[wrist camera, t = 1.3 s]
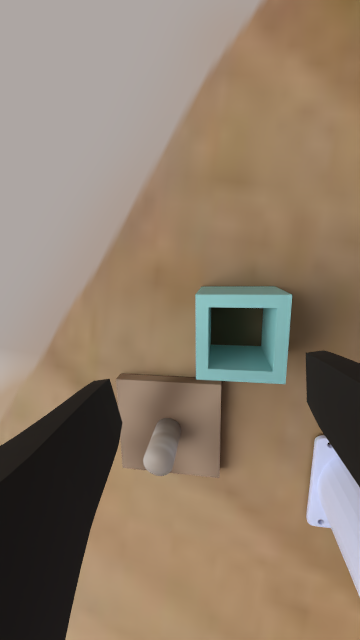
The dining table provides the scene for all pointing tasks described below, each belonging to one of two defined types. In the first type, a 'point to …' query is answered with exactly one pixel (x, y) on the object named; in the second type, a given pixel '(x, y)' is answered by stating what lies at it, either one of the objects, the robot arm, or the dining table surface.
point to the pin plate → (179, 406)
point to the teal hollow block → (244, 360)
